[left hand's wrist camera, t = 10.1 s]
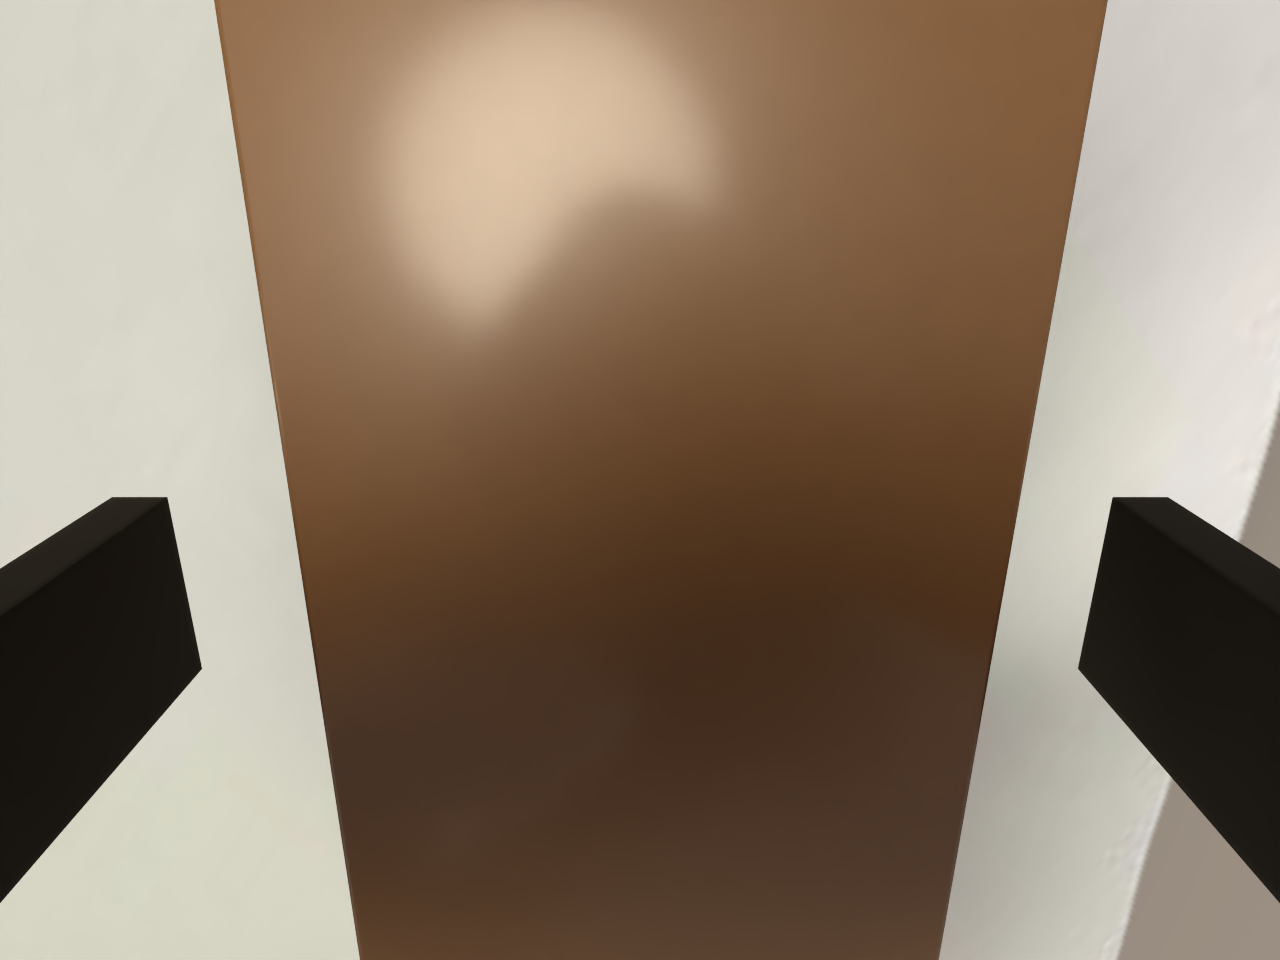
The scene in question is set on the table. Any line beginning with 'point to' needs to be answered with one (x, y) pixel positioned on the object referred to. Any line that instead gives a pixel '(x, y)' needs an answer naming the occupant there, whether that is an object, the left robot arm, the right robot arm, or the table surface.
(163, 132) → the table surface
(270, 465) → the table surface
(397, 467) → the bar
